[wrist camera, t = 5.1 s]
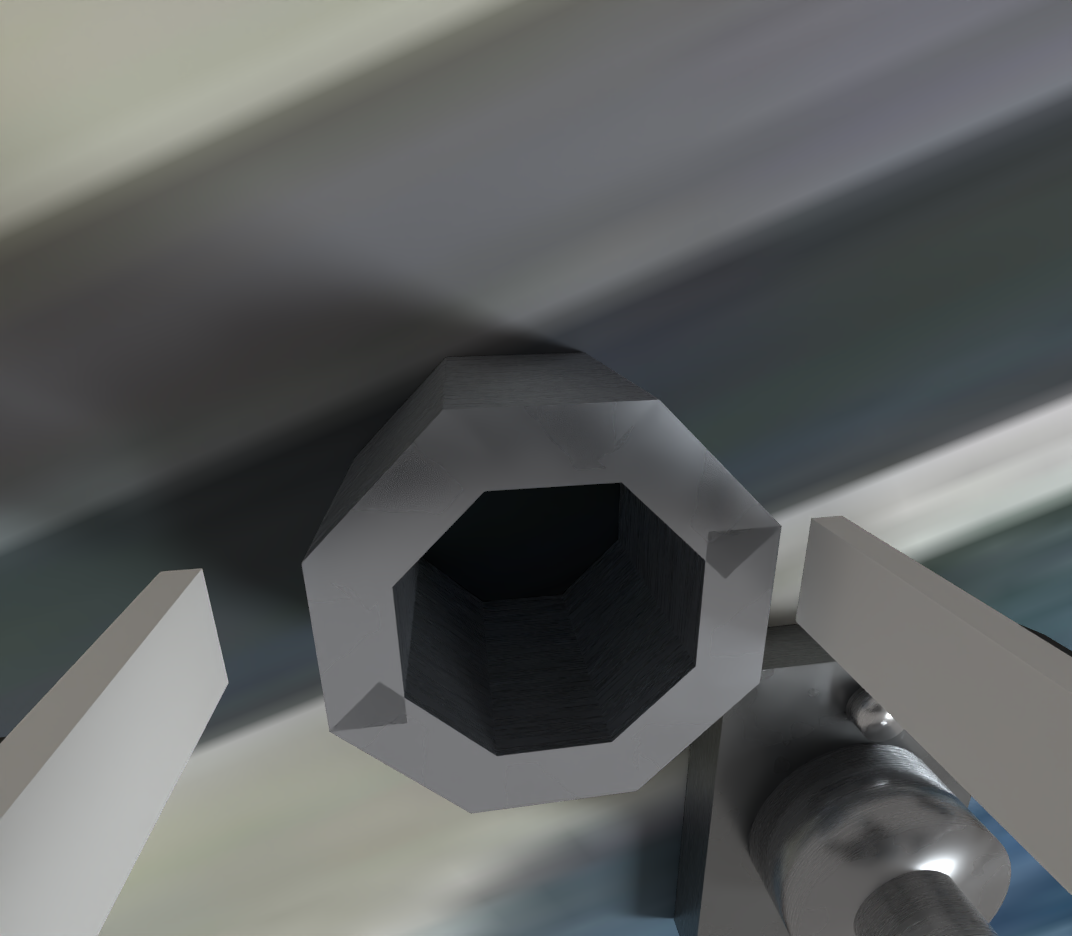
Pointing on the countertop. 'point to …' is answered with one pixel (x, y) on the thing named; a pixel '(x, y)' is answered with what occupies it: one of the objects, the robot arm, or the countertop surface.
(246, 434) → the countertop surface
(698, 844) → the shaft stand
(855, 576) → the robot arm
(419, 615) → the hub
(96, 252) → the countertop surface
